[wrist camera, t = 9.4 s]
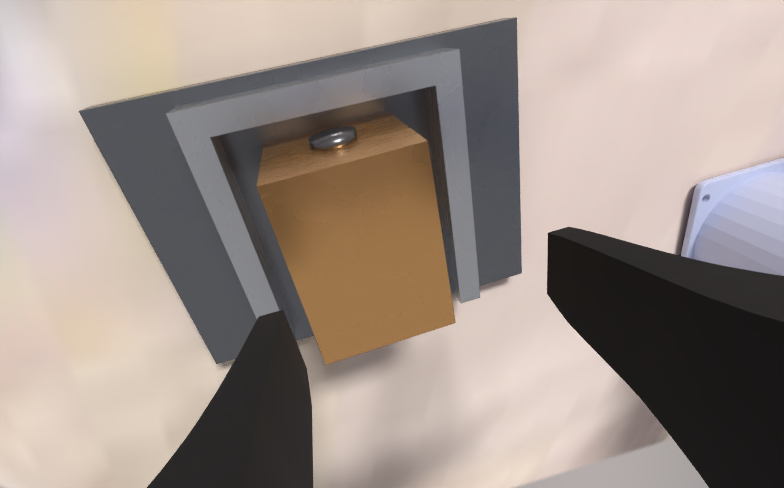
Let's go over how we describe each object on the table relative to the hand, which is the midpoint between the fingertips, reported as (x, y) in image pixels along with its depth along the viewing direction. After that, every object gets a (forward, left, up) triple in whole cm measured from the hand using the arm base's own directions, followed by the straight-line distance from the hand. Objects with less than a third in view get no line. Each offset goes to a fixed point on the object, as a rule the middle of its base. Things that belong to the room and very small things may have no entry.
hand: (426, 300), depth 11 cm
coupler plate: (0, +1, -9) cm, 9 cm away
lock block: (0, +1, -8) cm, 8 cm away
